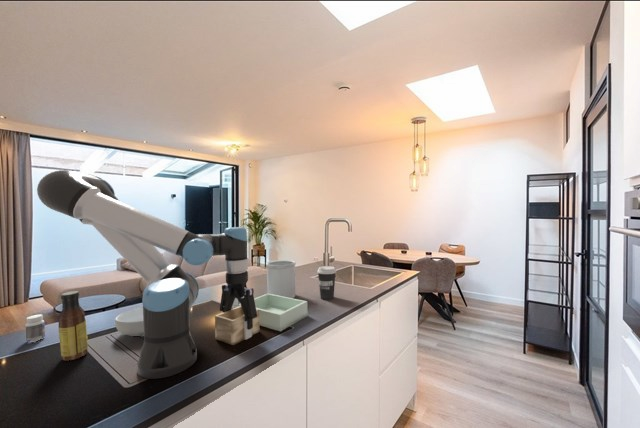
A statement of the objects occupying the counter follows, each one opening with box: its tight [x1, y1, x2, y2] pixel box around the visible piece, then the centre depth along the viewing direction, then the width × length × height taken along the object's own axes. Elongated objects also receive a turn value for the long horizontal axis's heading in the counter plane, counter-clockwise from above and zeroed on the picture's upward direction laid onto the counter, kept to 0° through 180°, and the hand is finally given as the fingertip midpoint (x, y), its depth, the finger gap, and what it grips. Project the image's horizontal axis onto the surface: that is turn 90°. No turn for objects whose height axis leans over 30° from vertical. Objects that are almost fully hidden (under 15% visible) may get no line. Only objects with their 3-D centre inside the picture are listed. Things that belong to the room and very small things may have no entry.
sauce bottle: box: [57, 290, 89, 362], centre depth 85 cm, size 6×6×20 cm
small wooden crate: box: [214, 306, 260, 346], centre depth 98 cm, size 12×9×8 cm
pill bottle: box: [24, 313, 46, 343], centre depth 97 cm, size 5×5×8 cm
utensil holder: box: [265, 259, 296, 299], centre depth 141 cm, size 15×15×18 cm
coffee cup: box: [316, 265, 337, 301], centre depth 138 cm, size 10×10×15 cm
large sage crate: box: [239, 293, 309, 332], centre depth 114 cm, size 17×22×6 cm
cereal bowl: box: [114, 307, 144, 337], centre depth 102 cm, size 17×17×7 cm
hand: (238, 334), depth 99 cm, fingers open, 9 cm apart
